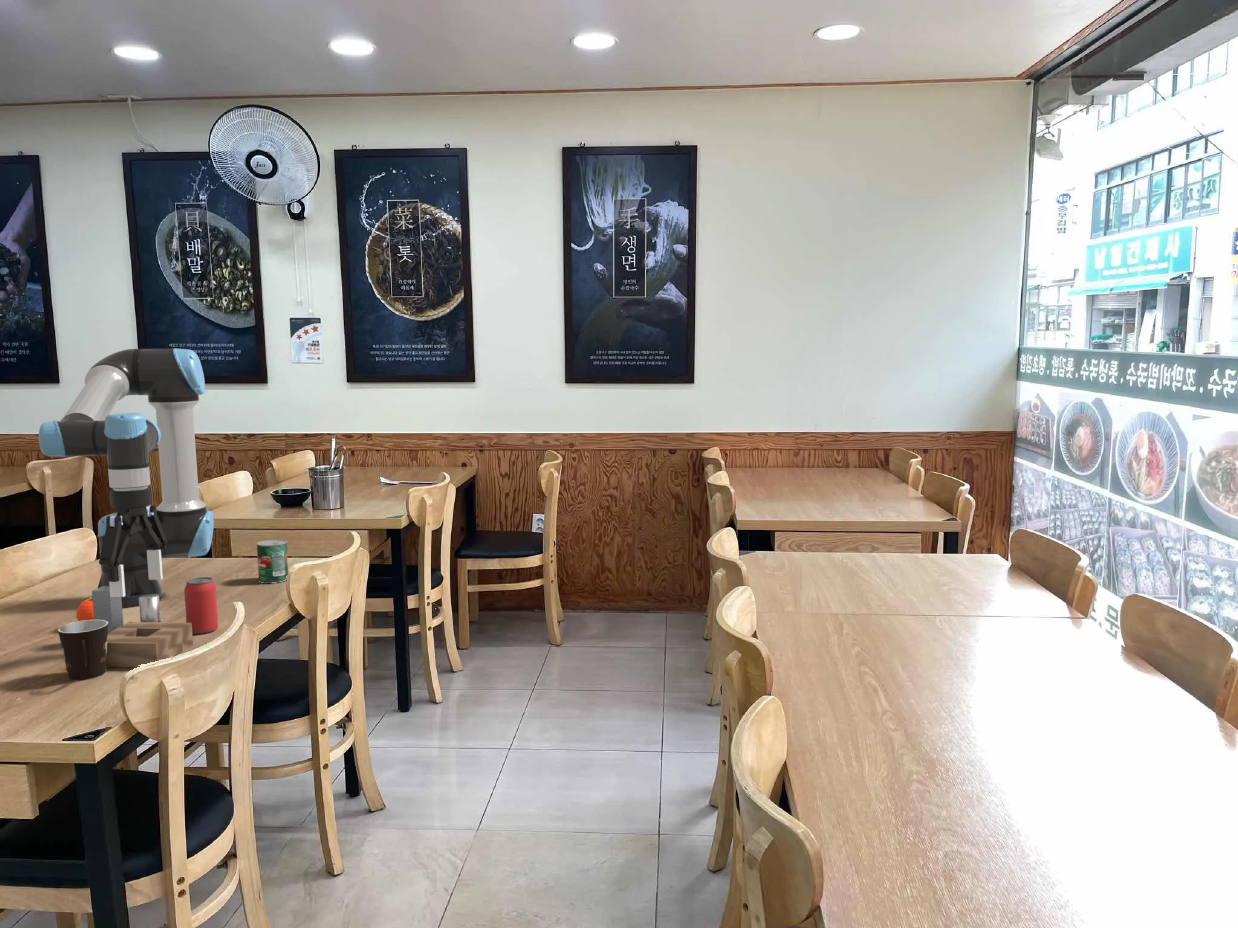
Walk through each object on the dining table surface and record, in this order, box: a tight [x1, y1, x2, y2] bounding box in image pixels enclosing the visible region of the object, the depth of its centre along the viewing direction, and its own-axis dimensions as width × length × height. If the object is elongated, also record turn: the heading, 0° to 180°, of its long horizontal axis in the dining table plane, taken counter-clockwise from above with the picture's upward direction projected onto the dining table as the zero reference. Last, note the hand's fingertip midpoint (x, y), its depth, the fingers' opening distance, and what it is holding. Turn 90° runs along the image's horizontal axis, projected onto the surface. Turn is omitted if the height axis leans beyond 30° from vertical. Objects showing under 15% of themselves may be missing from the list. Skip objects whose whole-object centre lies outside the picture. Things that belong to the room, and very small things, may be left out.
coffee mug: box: [57, 620, 108, 681], centre depth 177 cm, size 12×9×10 cm
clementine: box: [76, 597, 94, 622], centre depth 209 cm, size 8×7×7 cm
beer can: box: [184, 576, 219, 635], centre depth 206 cm, size 7×7×12 cm
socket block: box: [106, 621, 194, 668], centre depth 190 cm, size 14×14×5 cm
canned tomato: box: [256, 538, 289, 583], centre depth 251 cm, size 8×8×11 cm
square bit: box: [91, 586, 124, 633], centre depth 199 cm, size 4×4×12 cm
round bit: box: [138, 594, 162, 622], centre depth 199 cm, size 4×4×10 cm
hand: (137, 587), depth 188 cm, fingers open, 13 cm apart
